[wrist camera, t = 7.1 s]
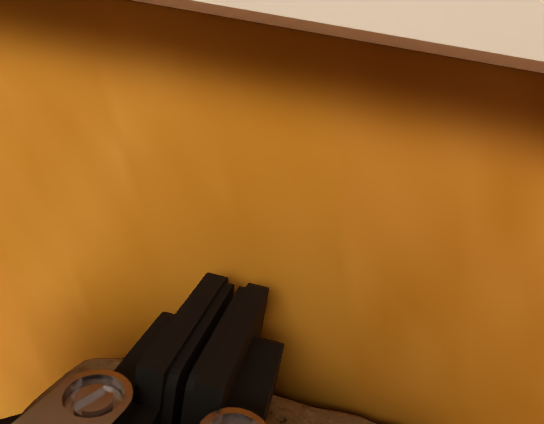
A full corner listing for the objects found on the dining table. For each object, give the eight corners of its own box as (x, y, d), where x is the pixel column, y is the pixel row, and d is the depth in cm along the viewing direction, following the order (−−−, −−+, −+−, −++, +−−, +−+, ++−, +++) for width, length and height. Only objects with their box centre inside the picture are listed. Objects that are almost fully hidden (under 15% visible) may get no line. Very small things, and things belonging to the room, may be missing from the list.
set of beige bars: (901, 48, 8) (1181, 37, 5) (539, 633, 14) (583, 770, 11) (-109, -109, 11) (-270, -170, 8) (-54, 436, 17) (-136, 508, 14)
